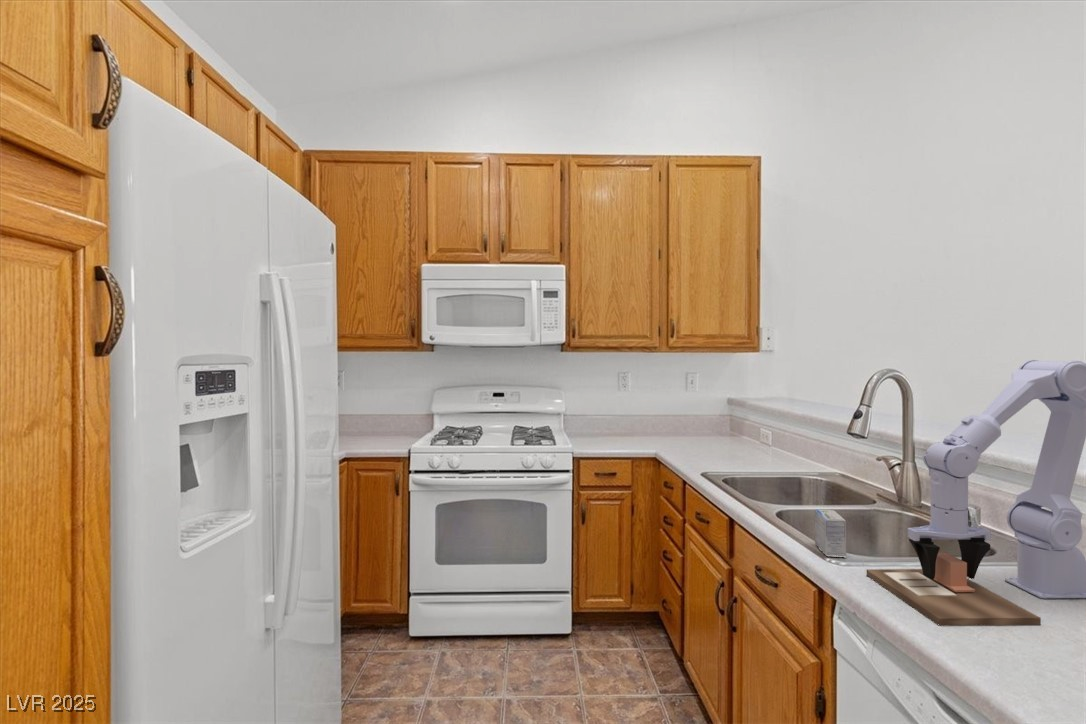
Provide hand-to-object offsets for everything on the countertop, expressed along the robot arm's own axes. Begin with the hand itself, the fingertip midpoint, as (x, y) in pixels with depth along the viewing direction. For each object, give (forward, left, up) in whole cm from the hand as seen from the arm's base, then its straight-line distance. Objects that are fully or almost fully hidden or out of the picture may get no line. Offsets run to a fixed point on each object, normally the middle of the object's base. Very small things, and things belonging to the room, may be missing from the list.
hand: (948, 576), depth 102 cm
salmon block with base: (0, 0, -1) cm, 1 cm away
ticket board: (+3, +3, -3) cm, 5 cm away
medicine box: (+12, -20, -3) cm, 24 cm away
